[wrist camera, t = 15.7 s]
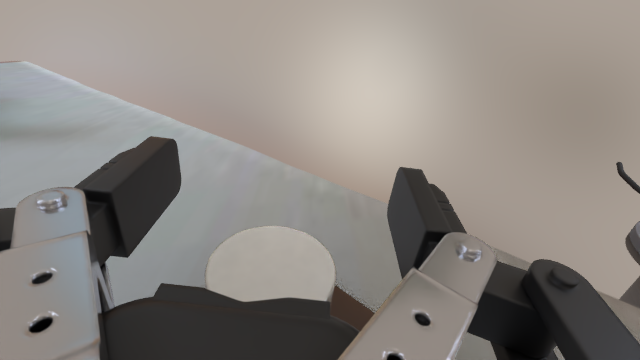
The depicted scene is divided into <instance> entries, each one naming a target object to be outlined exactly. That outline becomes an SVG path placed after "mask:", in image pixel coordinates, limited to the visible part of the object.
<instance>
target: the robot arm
mask: <svg viewBox="0 0 640 360" xmlns="http://www.w3.org/2000/svg"><path fill="white" fill-rule="evenodd" d="M616 165H617V170H618V173H619V175H620V176H621V177H622V178H623V179H624V180H625V181H626V182H627V183H628V184H629V185H630V186H631V187H632V188H633V189H634V190H636V191H637V192H638V193H639V194H640V187H639V186H638V185H637V184H636V183H635V182H634V181H633V180H632V179H631V178H630V177H628V175H627V174H626V173H625V172H624V170H623V165H622V163H621V162H618V163H617V164H616ZM180 186H181V173H180V165H179V156H178V148H177V143H176V141H175V140H174V139H169V138H161V137H152V136H151V137H149V138H147V139H146V140H145V141H144V142H142V143H141V144H140V145H138V146H137V147H136V148H133V149H130V150H127V151H125V152H122V153H120V154H118V155H117V156H115V157H114V158H113V159H111V160H110V161H109V163H106V164H105V165H103V166H102V167H101V169H98V170H97V171H95V172H94V173H92V174H91V175H90V176H88V177H87V178H86V179H84V180H83V181H82V182H80V183H79V184H78V185H76V186H75V187H74V188H72V187H57V188H51V189H46V190H42V191H39V192H36V193H34V194H32V195H30V196H28V197H26V198H24V199H23V200H22V201H21V202H19V204H18V205H17V207H16V208H4V209H0V360H454V358H455V356H456V354H457V352H458V350H459V347H460V345H461V343H462V341H463V339H464V336H465V334H466V332H468V333H471V334H473V335H476V336H478V337H481V338H483V339H486V340H489V341H490V342H491V345H492V347H493V350H494V352H495V355H496V357H497V360H558V358H557V356H556V355H555V353H554V351H553V349H554V348H555V347H556V346H558V348H559V350H560V352H561V353H562V355H563V357H564V358H565V360H640V344H639V343H638V342H637V340H636V339H635V338H634V337H633V335H632V334H631V333H630V332H629V331H628V329H627V328H626V327H625V326H624V324H623V323H622V322H621V321H620V320H619V318H618V317H617V316H616V315H615V313H614V312H613V311H612V310H611V309H610V307H609V306H608V305H607V304H606V303H605V301H604V300H603V299H602V298H601V296H600V295H599V294H598V293H597V292H596V290H595V289H594V288H593V287H592V285H591V284H590V283H589V282H588V281H587V280H586V279H585V278H584V277H582V276H581V275H580V274H579V273H577V272H576V271H574V270H573V269H571V268H569V267H567V266H565V265H563V264H560V263H558V262H555V261H551V260H544V259H541V260H536V261H534V262H533V263H532V264H531V266H530V267H529V269H528V271H526V270H522V269H519V268H516V267H513V266H510V265H507V264H504V263H501V262H499V261H497V257H496V254H495V252H494V251H493V250H492V248H491V247H490V246H489V245H487V244H486V243H485V242H483V241H482V240H480V239H478V238H477V237H474V236H472V235H469V234H467V233H466V231H465V229H464V227H463V226H462V224H461V222H460V220H459V218H458V217H457V215H456V213H455V212H454V209H453V208H452V206H451V204H449V200H448V199H447V197H446V195H445V193H444V192H443V191H441V190H440V189H439V188H438V187H437V186H435V185H434V184H429V183H428V181H427V179H426V177H425V175H424V173H423V171H422V170H421V169H412V168H404V167H400V168H399V170H398V172H397V174H396V178H395V182H394V185H393V189H392V193H391V196H390V200H389V204H388V211H387V217H388V222H389V227H390V231H391V235H392V239H393V243H394V247H395V251H396V256H397V260H398V264H399V268H400V272H401V276H402V281H401V282H400V283H399V284H398V286H397V287H396V288H395V289H394V291H393V292H392V293H391V294H390V296H389V297H388V298H387V299H386V300H385V302H384V303H383V304H382V305H381V307H380V308H379V309H378V310H377V312H376V313H375V314H374V315H373V317H372V318H371V319H370V320H369V321H368V323H367V324H366V325H365V326H364V328H363V329H362V330H361V331H359V330H357V329H356V328H355V327H353V326H352V325H350V324H348V323H347V322H345V321H343V320H341V319H339V318H337V317H334V316H331V315H330V302H329V301H320V300H311V299H301V298H292V297H286V298H277V299H268V300H259V301H250V302H243V301H239V300H236V299H233V298H230V297H228V296H225V295H222V294H219V293H216V292H214V291H211V290H208V289H205V288H200V287H191V286H182V285H173V284H164V283H161V285H160V286H159V288H158V290H157V291H156V293H155V295H154V296H153V297H148V298H143V299H138V300H134V301H131V302H128V303H124V304H122V305H119V306H117V307H115V305H114V299H113V294H112V289H111V283H110V278H109V272H108V268H107V264H106V260H107V259H108V258H109V257H110V256H118V257H127V258H128V257H129V256H130V254H131V253H132V252H133V250H134V249H135V248H136V247H137V245H138V244H139V243H140V242H141V240H142V239H143V238H144V236H145V235H146V234H147V233H148V231H149V230H150V229H151V227H152V226H153V225H154V224H155V222H156V221H157V220H158V219H159V217H160V216H161V215H162V213H163V212H164V211H165V210H166V208H167V207H168V206H169V204H170V203H171V202H172V201H173V199H174V198H175V197H176V196H177V194H178V192H179V190H180Z"/></svg>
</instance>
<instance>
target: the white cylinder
mask: <svg viewBox="0 0 640 360" xmlns="http://www.w3.org/2000/svg"><path fill="white" fill-rule="evenodd" d="M335 282H336V268H335V264H334V261H333V259H332V257H331V255H330V253H329V252H328V250H327V249H326V248H325V247H324V245H323V244H321V243H320V242H319V241H318V240H317V239H315V238H314V237H312V236H310V235H309V234H307V233H304V232H302V231H299V230H296V229H293V228H289V227H283V226H261V227H255V228H250V229H247V230H244V231H241V232H239V233H237V234H234V235H232V236H231V237H229V238H228V239H226V240H225V241H224V242H222V243H221V244H220V245H219V246H218V247H217V248H216V249H215V251H214V252H213V253H212V255H211V257H210V259H209V260H208V263H207V266H206V270H205V288H206V289H208V290H211V291H214V292H216V293H219V294H222V295H225V296H228V297H230V298H233V299H236V300H239V301H243V302H250V301H259V300H268V299H277V298H286V297H292V298H301V299H311V300H320V301H329V302H330V306H331V302H332V297H333V292H334V287H335Z"/></svg>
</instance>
